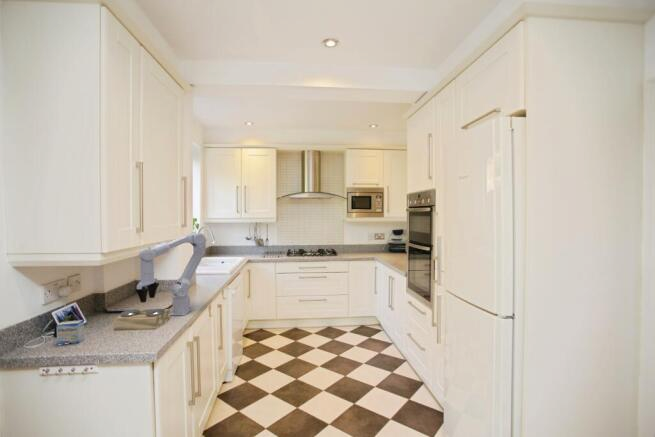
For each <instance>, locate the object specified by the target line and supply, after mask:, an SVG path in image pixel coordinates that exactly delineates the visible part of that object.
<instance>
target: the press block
mask: <svg viewBox="0 0 655 437" xmlns="http://www.w3.org/2000/svg"><path fill="white" fill-rule="evenodd" d="M155 309H156V308H155ZM155 309H154V308H153V310H155ZM163 309H164V310H165V313H164V314H162V315H159V316H153V317H148V316H146V312H148V311H150V310H151V309H139V310H140V314H138V315H135V316H131V317H121V316H120V315H119V316H117V317H115V318H114V319H113V327H114V328H113V330H114V331H126V330H127V331H128V330H132V331H134V330H135V331H136V330H156V329H157V327H158V328H160V327H161V326H162V325H163V324H165V323H166V322H167V321H169V320H170V316H171V315H170V314H171V313H170V308H163ZM160 325H161V326H160Z"/></svg>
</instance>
